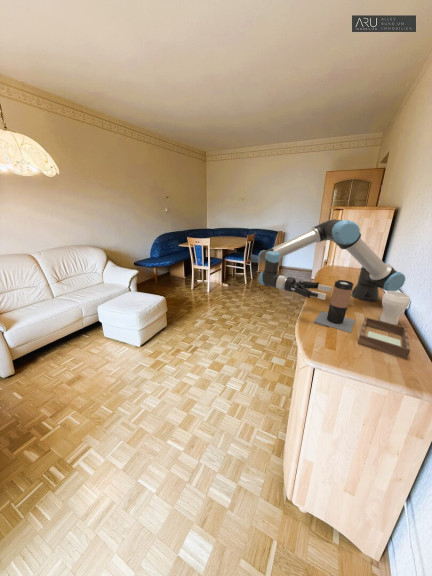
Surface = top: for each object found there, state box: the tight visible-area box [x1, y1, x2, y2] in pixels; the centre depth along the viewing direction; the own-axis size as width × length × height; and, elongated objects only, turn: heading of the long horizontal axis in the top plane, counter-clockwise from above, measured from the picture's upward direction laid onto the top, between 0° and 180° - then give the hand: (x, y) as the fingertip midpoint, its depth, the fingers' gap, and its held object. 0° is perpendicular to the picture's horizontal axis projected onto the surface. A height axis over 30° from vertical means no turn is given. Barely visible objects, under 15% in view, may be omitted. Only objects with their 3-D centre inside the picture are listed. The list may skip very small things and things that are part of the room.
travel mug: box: [327, 279, 354, 324], centre depth 109 cm, size 8×8×20 cm
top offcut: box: [367, 330, 402, 347], centre depth 93 cm, size 8×11×1 cm
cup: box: [379, 290, 411, 325], centre depth 113 cm, size 11×11×15 cm
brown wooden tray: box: [357, 316, 411, 360], centre depth 97 cm, size 22×16×4 cm
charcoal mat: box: [313, 310, 356, 334], centre depth 112 cm, size 16×16×1 cm
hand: (328, 293), depth 110 cm, fingers open, 13 cm apart
